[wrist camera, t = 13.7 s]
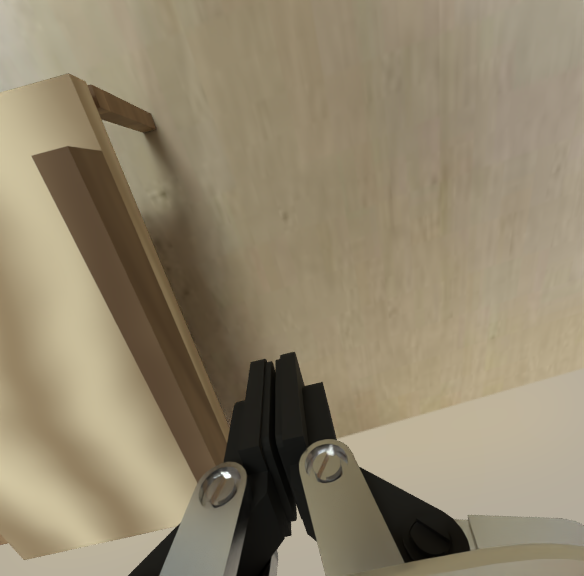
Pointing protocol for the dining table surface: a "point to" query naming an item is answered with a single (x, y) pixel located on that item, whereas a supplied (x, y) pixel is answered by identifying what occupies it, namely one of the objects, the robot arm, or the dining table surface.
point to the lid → (88, 341)
